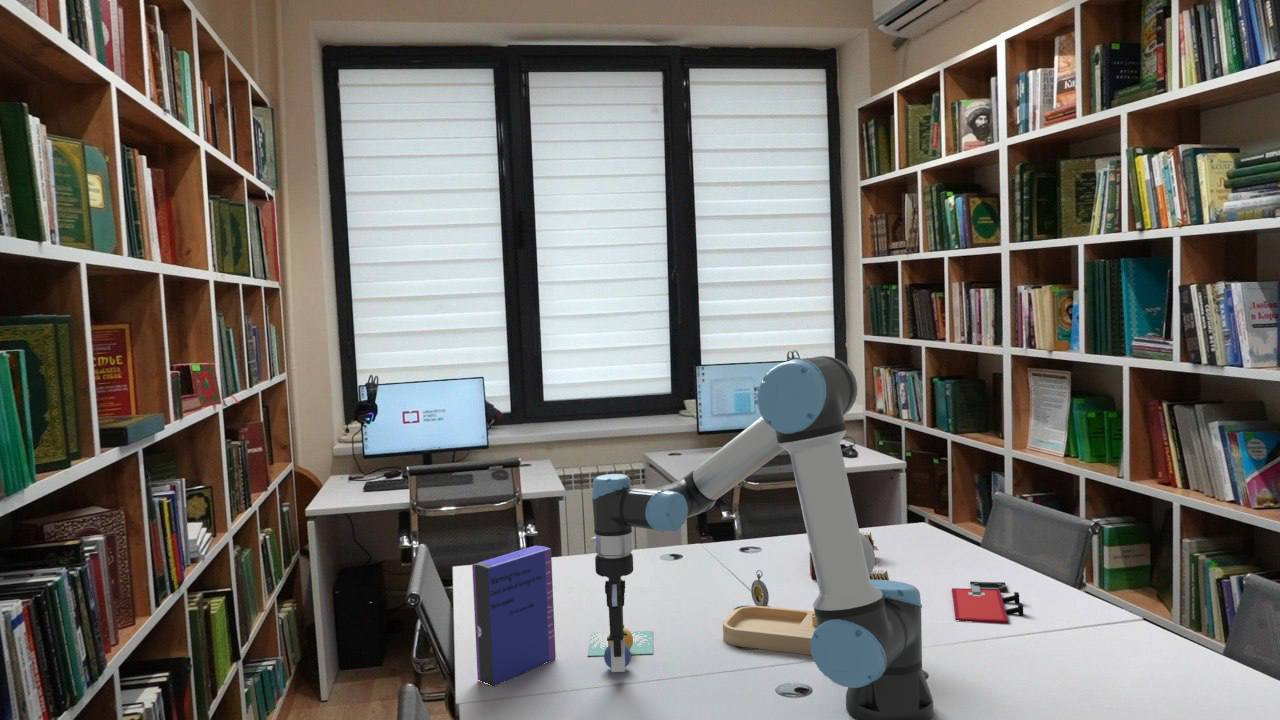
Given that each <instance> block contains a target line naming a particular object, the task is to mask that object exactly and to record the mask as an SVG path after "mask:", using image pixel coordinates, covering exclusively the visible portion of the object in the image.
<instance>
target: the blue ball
mask: <svg viewBox="0 0 1280 720" xmlns="http://www.w3.org/2000/svg"><path fill="white" fill-rule="evenodd" d="M624 647H625V668H627V666H628V665H629V664H630V662H631V658H632V655H631V653H630V650H629V648H628V647H627V646H626V645H625V644H624ZM603 659H604V662H605V665H606V666H607V667H608V668H609V669H611V645H609V646H608V647H607V648H606V650H605V653H604V656H603Z"/></svg>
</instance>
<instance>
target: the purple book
mask: <svg viewBox="0 0 1280 720" xmlns="http://www.w3.org/2000/svg"><path fill="white" fill-rule="evenodd" d="M552 560H553V559H552V548H549V547H547V546H543V545H533V546H529V547H526V548H522V549H519V550H516V551H512V552H509V553H506V554H503V555H500V556H496V557H493V558H489V559H486V560H483V561H480V562H476V563H472V565H471V566H472V567H471V568H472V569H471V570H472V587H473V609H474V628H475V631H474V632H475V651H476V652H475V653H476V669H477V671H476V672H477V681H478V680H480V681H482V682H485V683H488V684H490V685H492V687H493V686H494V687H496V686H495V685H497V686H499V685H501V684H503V683H505V682H504V681H506V682H508V681H510V680H512V679H514V677H515V678H517V677H519V676H520V675H523V673H524V674H526V673H528V672H530V671H533V670H534V668H535V669H537V668H539V667H541V666H543V665H542V664H544V663H546V662H548V663H550V662H552V661H551V660H553V659H555V658H556V659H557V657H556V656H557V655H556V654H557V653H556V636H555V635H556V634H555V633H556V632H555V613H554V611H555V610H554V608H555V607H554V590H553V589H554V587H553V583H554V582H553V565H552V564H553V563H552ZM556 659H555V660H556ZM549 661H550V662H549ZM553 661H554V660H553ZM546 664H547V663H546ZM540 665H541V666H540ZM544 665H545V664H544ZM538 666H539V667H538ZM536 667H537V668H536ZM532 669H533V670H532ZM529 670H530V671H529ZM527 671H528V672H527ZM525 672H526V673H525ZM516 676H517V677H516ZM509 679H510V680H509ZM507 680H508V681H507ZM502 682H503V683H502ZM500 683H501V684H500ZM498 684H499V685H498ZM490 685H489V686H490Z"/></svg>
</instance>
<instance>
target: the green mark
mask: <svg viewBox="0 0 1280 720" xmlns="http://www.w3.org/2000/svg"><path fill="white" fill-rule="evenodd" d="M638 632H640V633H638ZM596 633H597V634H598V633H599V632H596ZM602 633H603V632H602ZM606 633H607V631H606ZM633 633H636V634H635V635H638V634H643V635H639V636H644V635H647V637H642V638H643V639H647V640H648V641H644V642H645V643H641V644H642V645H639V646H641V647H639V646H638V645H637V644H639V643H640V641H641V640H643V639H639V641H636V643H635V642H633V645H632V647H631V649H630V653H631V656H639V655H640V654H641V656H643V655H644V654H648V655H654V631H653V630H639V631H638V630H635V631H634V630H633ZM633 633H631V634H633ZM603 634H604V633H603ZM594 635H596V634H594ZM591 636H593V635H591V634H590V637H591ZM596 637H597V636H596ZM594 638H595V637H593V639H594ZM634 638H635V637H634ZM649 638H651V639H649ZM591 640H592V639H591V638H590V640H589V642H590V641H591ZM598 640H599V638H598ZM598 640H596V642H597V641H598ZM596 642H595V641H593V643H591V644H590V643H589V645H588V652H587V657H588V656H591V657H604V653H605V650H606V648H607V646H605V645H604V646H605V647H602V648H604V649H602V648H600V644H601V643H600V642H599V644H597V645H598V646H596V648H595V647H593V645H594V644H595V643H596ZM602 642H603V641H602ZM649 643H650V644H649ZM648 644H649V645H648ZM592 647H593V648H594V649H593V648H592ZM590 650H591V651H590Z"/></svg>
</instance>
